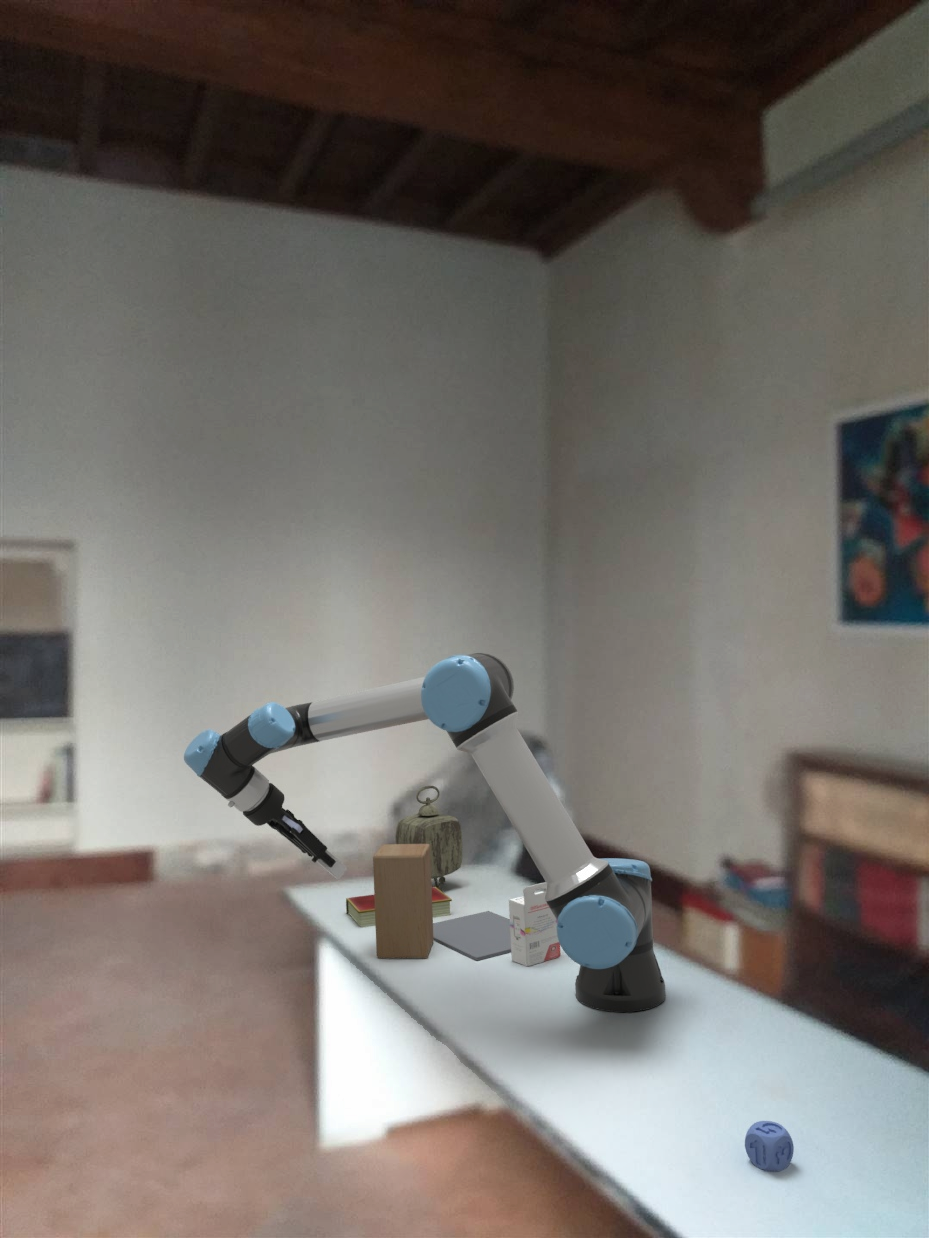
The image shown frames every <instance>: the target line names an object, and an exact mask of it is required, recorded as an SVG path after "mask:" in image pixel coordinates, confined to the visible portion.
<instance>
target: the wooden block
mask: <svg viewBox="0 0 929 1238" xmlns="http://www.w3.org/2000/svg"><path fill="white" fill-rule="evenodd" d="M372 865H373V866H372V867H373V868H372V869H373V890H374V891H373V892H374V893H373V895H374V898H375V925H374V926H375V945H376V947H375V949H376V953H375V954H376V958H377V959H427V958H428V956H429V953H430V951H431V948H432V946H433V944H434V942H435V941H434V938H433V923H434V917H433V910H432V887H433V886H432V885H433V884H432V883H433V882H432V879H431V855H430V845H429V844H392V843H390V844H385V843H384V844H381V846H379V848H378V849H377V851H376V852H375V853H374V855H373V857H372Z"/></svg>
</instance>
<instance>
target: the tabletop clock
mask: <svg viewBox="0 0 929 1238" xmlns="http://www.w3.org/2000/svg"><path fill="white" fill-rule="evenodd" d="M428 789H433V790H435V791H436V792H437V795H436V797H434V798H433V799H431V798H430V797H426V798H425V800H420V799H419V795H420V793H421V792H422V791H424V790H428ZM439 797H440V790H439V788H438V787H436V786H434V785H425V786H422V787H421V788H420V789H418V791H417V792H416V800H417V802H418V803H419V804H422V805H421V806H420V807H419V810H418V813H414V814H412V815H408V816H405V817H403V818H401V819H400V820H399V821H397V825H396V829H395V842H394V843H395V844H429V845H430V855H431V880H432V879H433V882H434V884H435V885H434V886H433V887H437V888H438V889H439V890H441V885H440V884H438V881H439V883H441V884H444V883H445V882H446V877H445V876H448V875H450V874H453V873H454V872H457V871H458V870H459V869H460V868H461V867H462V862H463V835H462V828H461V824H460V822H459V820H458V818H457V817H455V816H454V815H453V816H452V815H448V814H442V813H440V811H439V809H438V808H437V806H436V805H434V804H432V803H435V802H437V800H438V799H439Z"/></svg>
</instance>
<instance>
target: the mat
mask: <svg viewBox="0 0 929 1238" xmlns="http://www.w3.org/2000/svg"><path fill="white" fill-rule="evenodd" d="M433 938H434V941H433V942H436V943H438V944H441V945H443V946H445V947H446V948H449V949H451V950H453V951H455V952H457V953H460V954H462V955H463V956H466V957H468V958H470V959H472V960H474V961H476V962H477V961H481V960H482V961H483V960H486V959H490V958H493V957H498V956H502V955H505V954H509V953H511V935H510V918H508V917H506V916H502V915H500V914H498V913H494V912H493V911H489V910H486V911H483V912H477V913H473V914H470V915H464V916H459V917H455V918H451V919H450V918H449V919H446V920H441V921H438V922H433Z"/></svg>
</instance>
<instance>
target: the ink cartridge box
mask: <svg viewBox="0 0 929 1238" xmlns="http://www.w3.org/2000/svg"><path fill="white" fill-rule="evenodd" d="M540 889H541V890H545V891H538V890H540ZM546 891H547V883H546V881H544V882H540V883H536V884H533V885H528V886H525V887H523V889H522V895H523V896H517V897H514V898H510V899H508V913H509V919H510V935H511V952H510V953H511V961H512V962H515V963H518V964H520V965H523V966H525V967H530V966H534V965H537V964H540V963H543V962H546V961H550V960H553V959H556V958H560V957H561V945H560V943H559V940H558V936H557V919H556V918H555V916H554V914H553V913H552V911H551V909H550V907H549V906H548V904H547V902H546V900H545V895H546Z"/></svg>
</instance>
